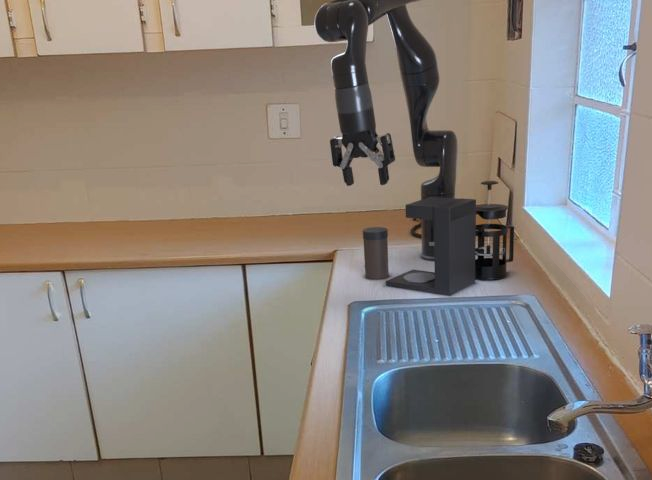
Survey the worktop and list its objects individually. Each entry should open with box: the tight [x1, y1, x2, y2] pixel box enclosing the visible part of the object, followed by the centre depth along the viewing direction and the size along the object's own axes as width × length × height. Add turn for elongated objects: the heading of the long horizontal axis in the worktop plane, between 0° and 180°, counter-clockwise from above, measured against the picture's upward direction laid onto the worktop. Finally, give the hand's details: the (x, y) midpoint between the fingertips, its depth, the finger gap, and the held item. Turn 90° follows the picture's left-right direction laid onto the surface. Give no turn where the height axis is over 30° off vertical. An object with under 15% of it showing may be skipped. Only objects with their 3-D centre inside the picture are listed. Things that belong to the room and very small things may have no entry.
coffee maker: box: [385, 197, 477, 297], centre depth 179 cm, size 18×12×20 cm, turn 52°
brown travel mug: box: [362, 226, 390, 280], centre depth 190 cm, size 6×6×12 cm
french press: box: [475, 180, 515, 281], centre depth 183 cm, size 12×9×23 cm
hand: (367, 184), depth 163 cm, fingers open, 8 cm apart
